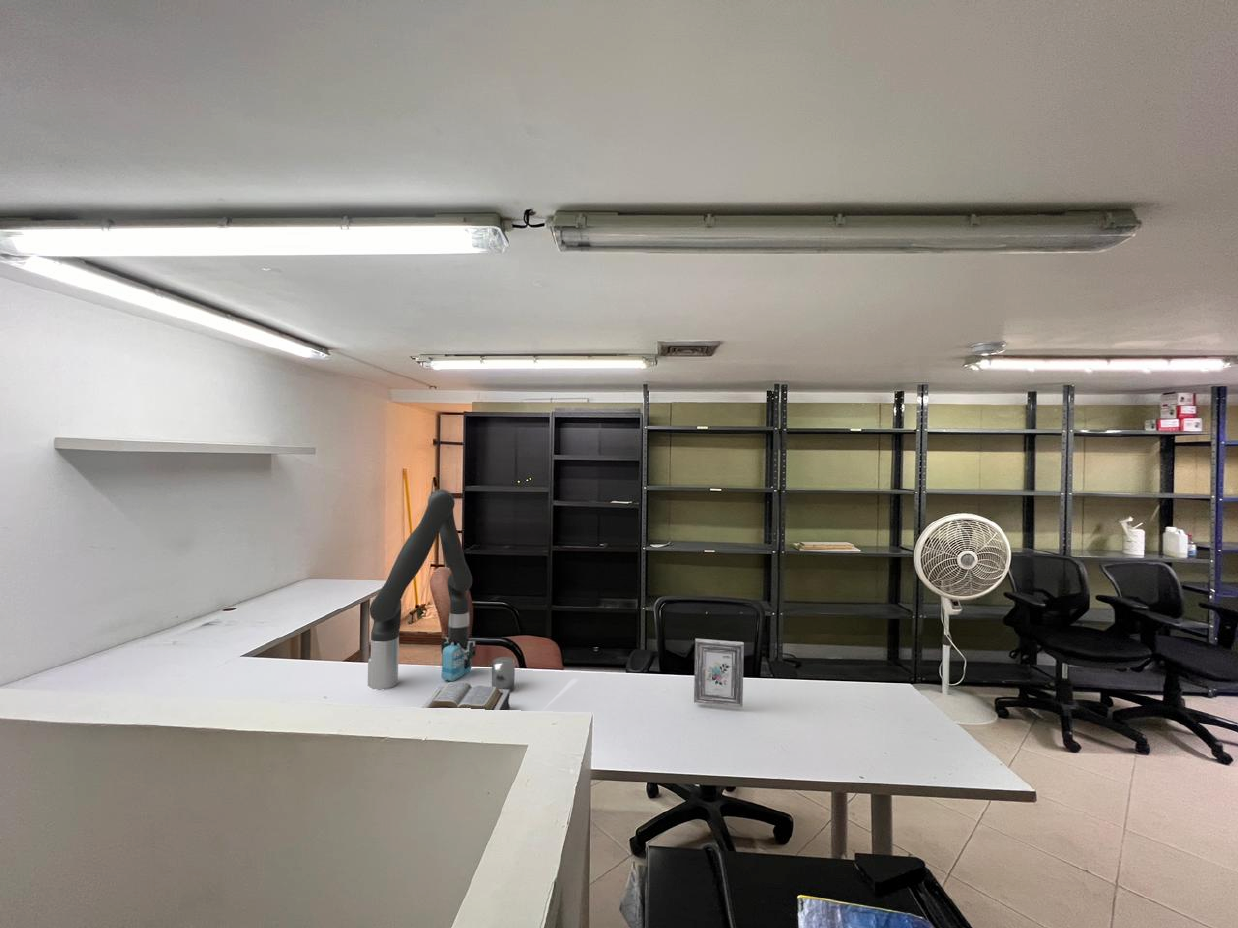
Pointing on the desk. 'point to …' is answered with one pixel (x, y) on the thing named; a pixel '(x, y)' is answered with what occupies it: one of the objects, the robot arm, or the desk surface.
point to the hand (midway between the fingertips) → (458, 666)
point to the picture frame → (718, 672)
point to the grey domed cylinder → (503, 673)
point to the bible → (469, 697)
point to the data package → (453, 663)
